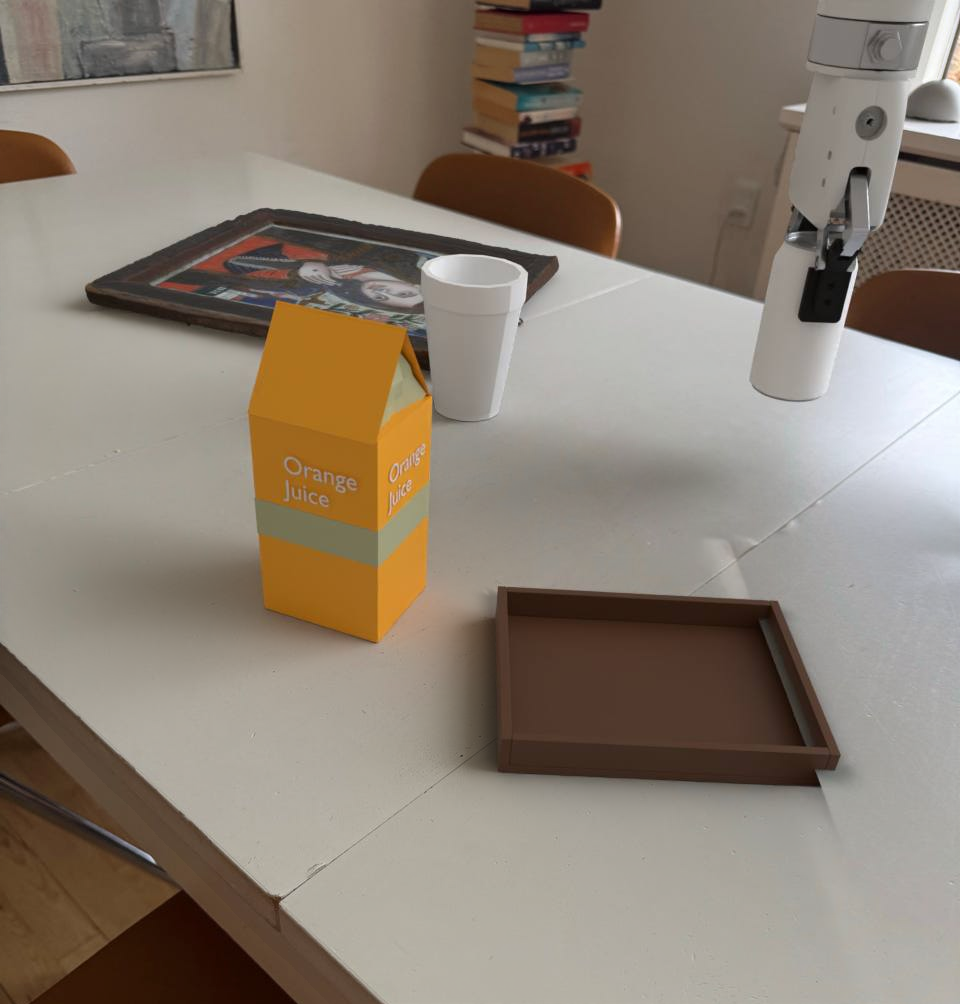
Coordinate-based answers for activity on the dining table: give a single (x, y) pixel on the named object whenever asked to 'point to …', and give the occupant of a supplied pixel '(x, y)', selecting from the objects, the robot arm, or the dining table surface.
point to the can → (795, 329)
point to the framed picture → (295, 273)
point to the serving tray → (652, 689)
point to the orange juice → (340, 470)
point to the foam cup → (471, 330)
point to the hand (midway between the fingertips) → (806, 304)
